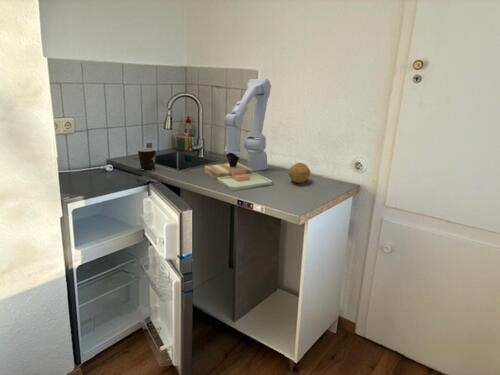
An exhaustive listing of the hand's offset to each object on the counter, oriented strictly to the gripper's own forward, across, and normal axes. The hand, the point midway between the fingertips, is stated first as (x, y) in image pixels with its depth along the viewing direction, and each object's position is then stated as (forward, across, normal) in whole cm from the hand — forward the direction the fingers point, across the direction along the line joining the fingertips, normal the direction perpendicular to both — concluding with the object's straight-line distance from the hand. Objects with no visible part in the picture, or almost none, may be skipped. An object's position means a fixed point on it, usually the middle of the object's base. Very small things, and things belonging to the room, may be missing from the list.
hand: (233, 169), depth 179 cm
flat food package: (+4, -5, 0) cm, 6 cm away
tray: (+4, +12, 0) cm, 12 cm away
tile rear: (+1, +4, 0) cm, 4 cm away
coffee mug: (+4, -29, -34) cm, 45 cm away
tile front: (+3, +8, 0) cm, 9 cm away
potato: (+4, +21, +23) cm, 31 cm away
